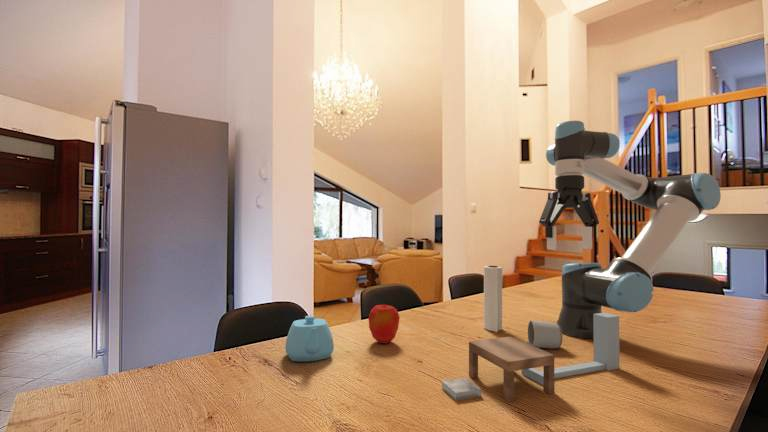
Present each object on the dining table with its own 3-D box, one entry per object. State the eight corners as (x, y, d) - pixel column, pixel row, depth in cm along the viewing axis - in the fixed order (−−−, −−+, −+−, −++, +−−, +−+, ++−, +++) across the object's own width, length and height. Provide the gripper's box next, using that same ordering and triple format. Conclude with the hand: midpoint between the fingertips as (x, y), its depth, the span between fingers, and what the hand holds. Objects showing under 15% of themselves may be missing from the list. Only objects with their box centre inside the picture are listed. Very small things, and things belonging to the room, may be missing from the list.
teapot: (288, 328, 90) (284, 311, 107) (288, 373, 90) (283, 349, 107) (340, 324, 94) (328, 308, 111) (340, 367, 94) (327, 344, 111)
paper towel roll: (487, 325, 133) (487, 264, 134) (504, 328, 130) (504, 266, 130) (479, 330, 127) (479, 266, 128) (497, 333, 124) (497, 268, 124)
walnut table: (510, 369, 93) (510, 336, 93) (554, 392, 80) (554, 355, 80) (468, 375, 89) (469, 341, 89) (508, 402, 76) (508, 362, 76)
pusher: (599, 360, 99) (599, 311, 100) (625, 370, 93) (624, 317, 93) (521, 374, 90) (521, 319, 90) (543, 385, 84) (543, 327, 84)
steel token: (466, 386, 84) (466, 377, 84) (481, 398, 78) (481, 389, 78) (441, 390, 82) (441, 381, 82) (455, 402, 76) (455, 392, 76)
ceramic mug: (564, 352, 106) (563, 324, 106) (534, 351, 107) (533, 323, 107) (551, 341, 116) (551, 316, 117) (524, 340, 117) (523, 315, 118)
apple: (363, 344, 111) (363, 303, 111) (375, 336, 119) (375, 298, 120) (393, 349, 107) (393, 306, 108) (403, 340, 116) (403, 300, 116)
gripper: (545, 171, 101) (545, 250, 101) (612, 176, 110) (612, 249, 110) (525, 175, 108) (526, 249, 108) (590, 179, 117) (590, 247, 117)
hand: (569, 249), depth 109 cm, fingers open, 13 cm apart
